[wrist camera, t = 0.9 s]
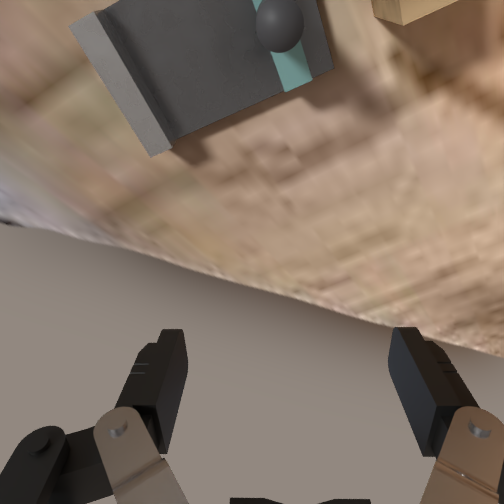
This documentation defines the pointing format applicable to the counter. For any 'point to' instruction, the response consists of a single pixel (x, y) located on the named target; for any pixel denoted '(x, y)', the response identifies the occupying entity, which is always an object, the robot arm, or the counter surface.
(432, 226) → the counter surface
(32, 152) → the counter surface
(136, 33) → the vise
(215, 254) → the counter surface
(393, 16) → the block
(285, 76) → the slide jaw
